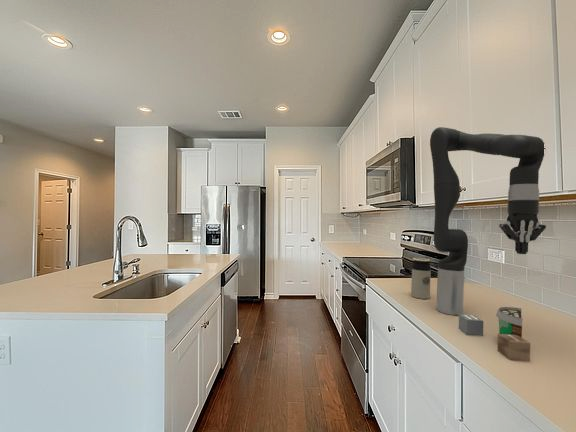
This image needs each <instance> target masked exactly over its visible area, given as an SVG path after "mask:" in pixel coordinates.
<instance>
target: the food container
mask: <svg viewBox="0 0 576 432" xmlns="http://www.w3.org/2000/svg"><path fill="white" fill-rule="evenodd" d="M495 316H496V318H497V319H498V332H499V333H498V334H509V335H517V336H519V337H521V338H522V337H523V318H522V308H521V307H514V306H500V307H498V309H497V310H496V314H495Z"/></svg>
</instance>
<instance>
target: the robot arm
mask: <svg viewBox="0 0 576 432" xmlns="http://www.w3.org/2000/svg"><path fill="white" fill-rule="evenodd" d="M543 141H544V140H543V139H542V138H540V137H538V136H532V135H527V134H526V135H524V134H502V133H501V134H500V133H478V134H477V133H476V134H475V133H474V134H472V133H468V132H465V131H461V130H459V129H458V130H457V129H455V128H450V127H443V126H440V127H436V128H434V129H433V131H432V132H431V135H430V140H429V147H430V154H431V160H432V168H433V169H432V172H433V195H434V226H433V227H434V229H433V244H434V247H435V249H436V250H437V251H438V252H441V253H449V254H448V255H447V256H446V257H444V258H441V259H440V260H438V262H437V284H436V310H437V311H438V312H439V313H443V314H446V315H450V316H451V315H452V316H459V314H460V315H464V295H465V294H464V293H465V291H464V289H465V284H464V283H465V267H466V264H467V258H468V249H469V239H468V235H467V233H466V231H464V230H462V229H459V228H458V229H457V228H455V229H454V228H449V220H450V215H451V214H452V212H453V210H454V208H455V207H456V205H457V203H458V202H459V200H460V197H461V187H460V185H461V184H460V178H459V176H458V173H457V172H456V170H455V169H454V167H453V164H452V163H451V161H450V156H449V152H459V151H460V152H461V151H470V152H474V153H478V154H479V153H480V154H484V155H490V156H491V155H492V156H502V157H507V158H514V159H519V160H518V164H517V166H514V167H512V168H511V169H510V171H509V183H508V184H509V186H508V187H509V188H508V191H507V213H508V216H507V218H506V221H505V222H504V223H500V224H499V226H498V227H499V228H500V229H501V231H502V232H503V233H504V234H505V236H506V237H507V238H508V239H509V240H512V241H514V243H515V246H514V251H515V252H516V254H519V255H527V253H528V252H529V243H530V242H533V241H534V242H535V241H536V240H537V238H538V237H539V236H540V235H541V234H542V233H543V232H544V231H545V230H546V228H547V226H546V224H542V223H541V222H539V218H538V214H539V212H540V211H539V209H540V207H539V206H540V189H539V177H540V176H539V175H540V173H539V172H540V168H541V166H542V163H543V160H544V157H545V154H544V149H545V150H546V147H545V148H544V144H545V142H543Z"/></svg>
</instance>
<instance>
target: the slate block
mask: <svg viewBox="0 0 576 432" xmlns="http://www.w3.org/2000/svg"><path fill="white" fill-rule="evenodd" d="M459 329H460V330H459ZM458 330H459V331H461V332H462V333H463V334H465V335H466V336H475V337H476V336H477V337H483V336H484V320H483V319H481V318H479V317H478V316H476V315H475V314H462V315H460V314H459V315H458Z"/></svg>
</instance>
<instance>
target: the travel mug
mask: <svg viewBox="0 0 576 432" xmlns="http://www.w3.org/2000/svg"><path fill="white" fill-rule="evenodd" d="M412 260H413V263H412V265H411V294H410V295H411V296H412V298H415V299H419V300H429V299H430V298H431V278H432V277H431V275H432V274H431V271H432V267H431V265H430V261H431V259H430V258H425V257H413V258H412Z"/></svg>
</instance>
